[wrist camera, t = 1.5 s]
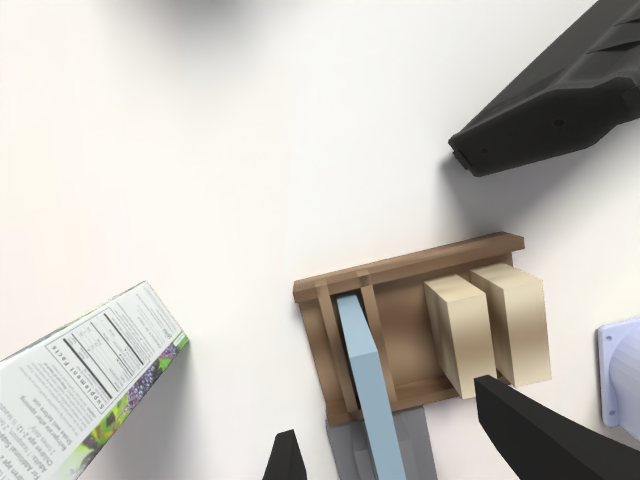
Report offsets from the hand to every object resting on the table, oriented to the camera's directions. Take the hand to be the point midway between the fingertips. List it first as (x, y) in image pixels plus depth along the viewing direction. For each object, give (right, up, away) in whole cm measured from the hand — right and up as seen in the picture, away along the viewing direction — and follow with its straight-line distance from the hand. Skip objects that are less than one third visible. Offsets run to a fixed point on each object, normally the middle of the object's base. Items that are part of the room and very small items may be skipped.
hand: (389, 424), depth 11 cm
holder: (+3, -12, +15) cm, 19 cm away
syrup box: (-17, +1, +12) cm, 20 cm away
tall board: (0, -1, +12) cm, 12 cm away
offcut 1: (+7, +1, +11) cm, 13 cm away
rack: (+4, +1, +12) cm, 13 cm away
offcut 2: (+10, +2, +11) cm, 15 cm away
